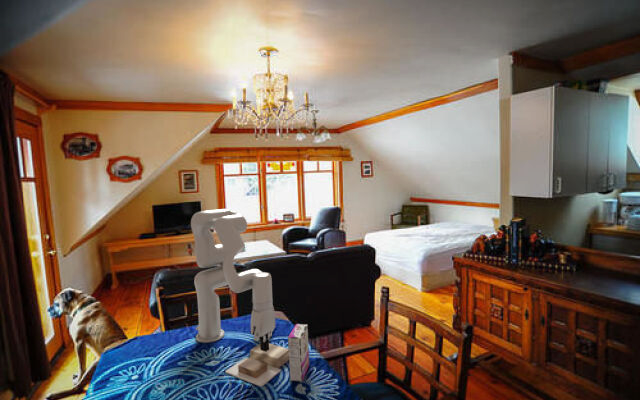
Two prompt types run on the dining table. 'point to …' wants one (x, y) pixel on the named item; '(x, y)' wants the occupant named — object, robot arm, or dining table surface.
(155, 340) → the dining table surface
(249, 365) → the walnut tile
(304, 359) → the candy bar box
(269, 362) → the birch stand
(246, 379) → the off-white mat
